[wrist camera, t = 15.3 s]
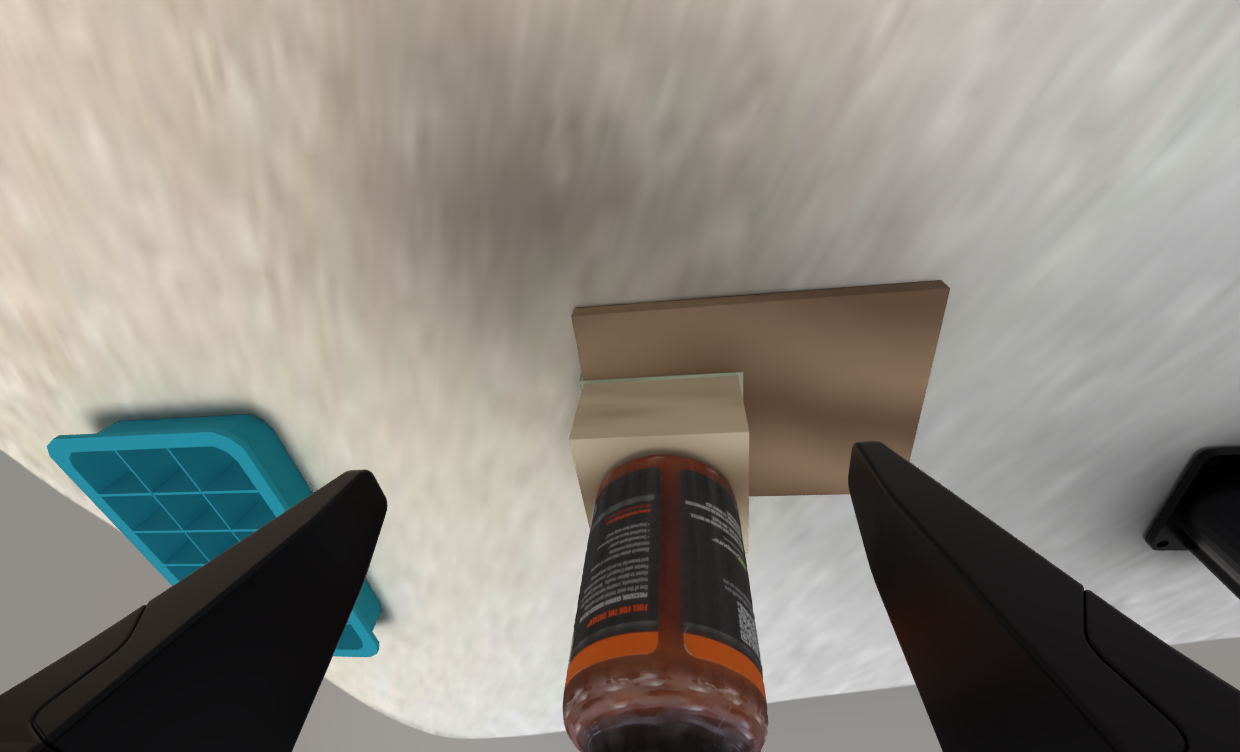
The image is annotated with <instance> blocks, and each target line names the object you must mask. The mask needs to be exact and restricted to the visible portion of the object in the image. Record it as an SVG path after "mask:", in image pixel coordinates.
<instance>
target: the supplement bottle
mask: <svg viewBox="0 0 1240 752" xmlns="http://www.w3.org/2000/svg"><path fill="white" fill-rule="evenodd" d="M563 718H564V725H565V728H566V731H567V733H568V735H569V737H570V739H571V740H572V742H573V744H574V745H575V746H576V747H577V749H578V750H579V751H580V752H761V749H762V747H763V745H764V742H765V739H766V736H767V733H768V715H767V702H766V695H765V688H764V683H763V673H762V665H761V659H760V651H759V644H758V637H757V631H756V624H755V616H754V613H753V606H752V598H751V592H750V584H749V578H748V571H747V564H746V557H745V550H744V544H743V538H742V531H741V523H740V518H739V511H738V508H737V502H736V499H735V496H734V493H733V491H732V489H731V487H730V485H729V484H728V483H727V481H726V480H725V479H724V478H723V477H722V476H721V475H720V474H719V473H718V472H716V471H715V470H714V469H712V468H711V467H710V466H708V465H706V464H704V463H702V462H700V461H697V460H695V459H691V458H687V457H683V456H676V455H664V454H663V455H660V454H658V455H650V456H644V457H641V458H637V459H634V460H631V461H629V462H627V463H625V464H623V465H621V466H619V467H618V468H616V469H614V470H613V471H612V472H611V473H610V474H609V475H608V476H607V477H606V478H605V479H604V481H603V482H602V484H601V486H600V488H599V490H598V493H597V496H596V500H595V504H594V508H593V514H592V520H591V527H590V533H589V539H588V544H587V551H586V557H585V563H584V568H583V575H582V582H581V587H580V594H579V600H578V608H577V613H576V618H575V624H574V632H573V638H572V644H571V651H570V657H569V663H568V669H567V677H566V683H565V689H564V698H563Z"/></svg>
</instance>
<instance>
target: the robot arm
mask: <svg viewBox="0 0 1240 752" xmlns="http://www.w3.org/2000/svg"><path fill="white" fill-rule="evenodd" d="M848 486H849V492H850V495H851V499H852V503H853V506H854V510H855V514H856V518H857V521H858V525H859V529H860V533H861V536H862V540H863V544H864V547H865V551H866V555H867V559H868V562H869V565H870V569H871V572H872V575H873V578H874V580H875V583H876V586H877V588H878V591H879V593H880V596H881V598H882V601H883V603H884V606H885V608H886V611H887V613H888V616H889V618H890V621H891V623H892V626H893V628H894V631H895V633H896V636H897V638H898V641H899V643H900V646H901V648H902V651H903V653H904V656H905V658H906V661H907V663H908V666H909V668H910V671H911V673H912V676H913V678H914V681H915V683H916V686H917V688H918V691H919V693H920V696H921V698H922V701H923V703H924V706H925V708H926V711H927V713H928V716H929V718H930V721H931V723H932V725H933V728H934V731H935V733H936V736H937V738H938V741H939V743H940V745H941V748H942V751H943V752H1240V691H1239V690H1238V689H1236V688H1235V687H1233V686H1231V685H1230V684H1228V683H1226V682H1225V681H1223V680H1222V679H1220V678H1219V677H1217V676H1216V675H1214V674H1213V673H1211V672H1210V671H1208V670H1206V669H1205V668H1203V667H1202V666H1200V665H1198V664H1197V663H1196V662H1194V661H1192V660H1191V659H1189V658H1188V657H1186V656H1185V655H1183V654H1182V653H1180V652H1179V651H1177V650H1175V649H1174V648H1172V647H1171V646H1169V645H1168V644H1166V643H1165V642H1163V641H1162V640H1160V639H1159V638H1158V637H1156V636H1155V635H1153V634H1152V633H1150V632H1149V631H1147V630H1146V629H1144V628H1143V627H1142V626H1140V625H1139V624H1137V623H1136V622H1134V621H1133V620H1131V619H1130V618H1128V617H1127V616H1126V615H1124V614H1123V613H1121V612H1120V611H1118V610H1117V609H1115V608H1114V607H1113V606H1111V605H1110V604H1108V603H1107V602H1106V601H1104V600H1103V599H1101V598H1100V597H1099V596H1097V595H1096V594H1094V593H1093V592H1092V591H1090V590H1085V591H1084V587H1083V585H1081V584H1080V583H1079V582H1077V581H1076V580H1074V579H1073V578H1072V577H1070V576H1069V575H1067V574H1066V573H1065V572H1063V571H1062V570H1060V569H1059V568H1058V567H1056V566H1055V565H1053V564H1052V563H1051V562H1049V561H1048V560H1046V559H1045V558H1044V557H1042V556H1041V555H1039V554H1038V553H1037V552H1035V551H1034V550H1032V549H1031V548H1030V547H1028V546H1027V545H1025V544H1024V543H1023V542H1021V541H1020V540H1018V539H1017V538H1015V537H1014V536H1013V535H1011V534H1010V533H1008V532H1007V531H1006V530H1004V529H1003V528H1001V527H1000V526H999V525H997V524H996V523H994V522H993V521H992V520H990V519H989V518H987V517H986V516H985V515H983V514H982V513H980V512H979V511H978V510H976V509H975V508H973V507H972V506H971V505H969V504H968V503H966V502H965V501H964V500H962V499H961V498H959V497H958V496H957V495H955V494H954V493H952V492H951V491H950V490H948V489H947V488H945V487H944V486H943V485H941V484H940V483H938V482H937V481H936V480H934V479H933V478H931V477H930V476H928V475H927V474H926V473H924V472H923V471H921V470H920V469H919V468H917V467H916V466H914V465H913V464H912V463H910V462H909V461H907V460H906V459H905V458H903V457H902V456H900V455H899V454H898V453H896V452H895V451H893V450H892V449H891V448H889V447H888V446H886V445H885V444H884V443H882V442H880V441H862V442H856V443H854V444H853V447H852V450H851V458H850V465H849V473H848ZM386 512H387V499H386V497H385V495H384V493H383V491H382V489H381V488H380V486H379V484H378V482H377V480H376V478H375V477H374V475H373V473H372V472H370V471H369V470H350V471H347V472H345V473H343V474H342V475H340V476H338V477H337V478H335V479H334V480H332V481H331V482H329V483H328V484H326V485H325V486H323V487H322V488H320V489H319V490H317V491H316V492H314V493H313V494H311V495H310V496H308V497H307V498H305V499H304V500H302V501H301V502H299V503H298V504H296V505H295V506H293V507H292V508H290V509H288V510H287V511H285V512H284V513H282V514H281V515H279V516H278V517H276V518H275V519H273V520H272V521H270V522H269V523H267V524H266V525H264V526H263V527H261V528H260V529H258V530H257V531H255V532H254V533H252V534H251V535H249V536H248V537H246V538H245V539H243V540H242V541H240V542H238V543H237V544H235V545H234V546H232V547H231V548H229V549H228V550H226V551H225V552H223V553H222V554H220V555H219V556H217V557H216V558H214V559H213V560H211V561H210V562H208V563H207V564H205V565H204V566H202V567H201V568H199V569H198V570H196V571H195V572H193V573H192V574H190V575H188V576H187V577H185V578H184V579H182V580H181V581H179V582H178V583H176V584H175V585H173V586H172V587H170V588H169V589H168V590H166V591H164V592H163V593H161V594H160V595H158V596H157V597H155V598H154V599H152V600H151V601H149V603H148V604H147V605H143V606H141V607H140V608H138V609H137V610H135V611H134V612H132V613H131V614H129V615H128V616H126V617H125V618H123V619H122V620H120V621H119V622H117V623H116V624H114V625H112V626H111V627H109V628H108V629H106V630H105V631H103V632H102V633H100V634H99V635H97V636H95V637H94V638H92V639H91V640H89V641H88V642H86V643H85V644H83V645H81V646H80V647H78V648H77V649H75V650H74V651H72V652H70V653H69V654H67V655H65V656H64V657H62V658H60V659H59V660H57V661H56V662H54V663H52V664H51V665H49V666H47V667H46V668H44V669H43V670H41V671H39V672H38V673H36V674H34V675H33V676H31V677H29V678H28V679H26V680H25V681H23V682H21V683H20V684H18V685H16V686H15V687H13V688H11V689H10V690H8V691H6V692H5V693H3V694H1V695H0V752H292V750H293V748H294V745H295V743H296V741H297V739H298V736H299V734H300V732H301V729H302V727H303V724H304V722H305V720H306V718H307V715H308V713H309V710H310V708H311V705H312V703H313V701H314V699H315V696H316V694H317V692H318V689H319V687H320V685H321V682H322V680H323V678H324V675H325V673H326V671H327V668H328V666H329V664H330V661H331V659H332V657H333V654H334V652H335V650H336V647H337V645H338V643H339V640H340V638H341V636H342V633H343V631H344V629H345V626H346V624H347V622H348V619H349V617H350V615H351V612H352V610H353V608H354V605H355V603H356V601H357V598H358V596H359V593H360V591H361V588H362V586H363V583H364V581H365V578H366V575H367V572H368V569H369V566H370V563H371V559H372V556H373V553H374V550H375V547H376V544H377V540H378V537H379V534H380V531H381V528H382V525H383V521H384V518H385V515H386ZM1145 541H1146V543H1147V544H1148V545H1149V546H1150V547H1151V548H1152V549H1154V550H1189V551H1190V552H1191V553H1192V554H1193V555H1195V556H1196V557H1197V558H1198V559H1199V560H1200V561H1201V562H1202V563H1203V564H1204V565H1205V566H1206V567H1207V568H1208V569H1209V570H1210V571H1211V572H1212V573H1213V574H1214V575H1215V576H1216V577H1217V578H1218V579H1219V580H1220V581H1221V582H1222V583H1223V584H1224V585H1225V586H1226V587H1227V588H1228V589H1229V590H1230V591H1231V592H1233V593H1234V594H1235V595H1236V596H1237V597H1238V598H1239V599H1240V448H1229V449H1210V450H1207V451H1204V452H1202V453H1201V454H1199V455H1198V456H1197V457H1196V459H1195V460H1194V462H1193V463H1192V465H1191V467H1190V468H1189V470H1188V471H1187V473H1186V475H1185V476H1184V478H1183V479H1182V481H1181V483H1180V484H1179V486H1178V487H1177V489H1176V490H1175V492H1174V494H1173V495H1172V497H1171V498H1170V500H1169V502H1168V503H1167V505H1166V506H1165V508H1164V510H1163V511H1162V513H1161V514H1160V516H1159V517H1158V519H1157V521H1156V522H1155V524H1154V525H1153V527H1152V529H1151V530H1150V532H1149V533H1148V535H1147V537H1146V539H1145Z"/></svg>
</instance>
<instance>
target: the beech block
mask: <svg viewBox="0 0 1240 752" xmlns="http://www.w3.org/2000/svg"><path fill="white" fill-rule="evenodd" d="M569 442H570V446H571V450H572V454H573V459H574V463H575V467H576V472H577V476H578V480H579V484H580V489H581V493H582V497H583V502H584V506H585V510H586V514H587V519H588V523H589V527H591V520H592V514H593V508H594V504H595V500H596V496H597V493H598V490H599V488H600V486H601V484H602V482H603V481H604V479H605V478H606V477H607V476H608V475H609V474H610V473H611V472H612V471H613V470H614V469H616V468H618V467H619V466H621V465H623V464H625V463H627V462H629V461H631V460H634V459H637V458H641V457H644V456H650V455H658V454H660V455H663V454H664V455H676V456H683V457H687V458H691V459H695V460H697V461H700V462H702V463H704V464H706V465H708V466H710V467H711V468H712V469H714V470H715V471H716V472H718V473H719V474H720V475H721V476H722V477H723V478H724V479H725V480H726V481H727V483H728V484H729V485H730V487H731V489H732V491H733V493H734V496H735V499H736V502H737V508H738V511H739V518H740V523H741V531H742V538H743V544H744V550H745V553H748V528H749V428H748V423H747V418H746V413H745V407H744V402H743V397H742V392H741V387H740V382H739V377H738V375H731V376H714V377H697V378H680V379H663V380H646V381H629V382H612V383H595V384H584V386H583V390H582V393H581V397H580V401H579V405H578V408H577V412H576V416H575V419H574V423H573V427H572V431H571V434H570V438H569Z"/></svg>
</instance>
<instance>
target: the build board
mask: <svg viewBox="0 0 1240 752" xmlns="http://www.w3.org/2000/svg"><path fill="white" fill-rule="evenodd" d="M949 291H950V288H949V287H948V286H947V285H946V284H945V283H944V282H942V281H941V280H938V281H925V282H912V283H899V284H886V285H873V286H860V287H847V288H834V289H821V290H808V291H795V292H782V293H769V294H755V295H742V296H729V297H716V298H703V299H690V300H677V301H664V302H651V303H638V304H625V305H612V306H599V307H586V308H575V309H574V311H573V314H572V322H573V327H574V332H575V337H576V342H577V348H578V353H579V358H580V363H581V368H582V375H581V378H580V386H581V391H582V390H583V386H584V384H595V383H612V382H629V381H646V380H663V379H680V378H697V377H714V376H731V375H738V377H739V382H740V387H741V392H742V397H743V402H744V407H745V413H746V418H747V423H748V428H749V496H786V495H832V494H850V492H849V486H848V473H849V465H850V458H851V450H852V447H853V444H854V443H856V442H862V441H880V442H882V443H884V444H885V445H886V446H888V447H889V448H891V449H892V450H893V451H895V452H896V453H898V454H899V455H900V456H902V457H903V458H905V459H906V460H907V461H909V460H910V456H911V452H912V448H913V444H914V439H915V435H916V431H917V427H918V422H919V418H920V414H921V410H922V405H923V401H924V397H925V393H926V388H927V384H928V380H929V376H930V371H931V367H932V363H933V359H934V354H935V350H936V346H937V342H938V337H939V333H940V329H941V325H942V321H943V316H944V312H945V308H946V304H947V299H948V295H949Z"/></svg>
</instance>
